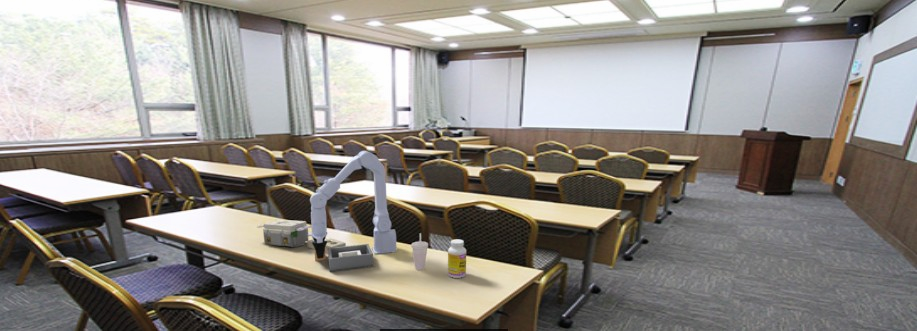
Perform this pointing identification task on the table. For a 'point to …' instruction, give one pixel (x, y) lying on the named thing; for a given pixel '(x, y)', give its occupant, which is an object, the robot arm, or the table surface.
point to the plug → (320, 258)
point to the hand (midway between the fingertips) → (320, 254)
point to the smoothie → (419, 254)
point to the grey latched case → (285, 233)
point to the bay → (350, 257)
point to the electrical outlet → (328, 244)
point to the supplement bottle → (457, 259)
